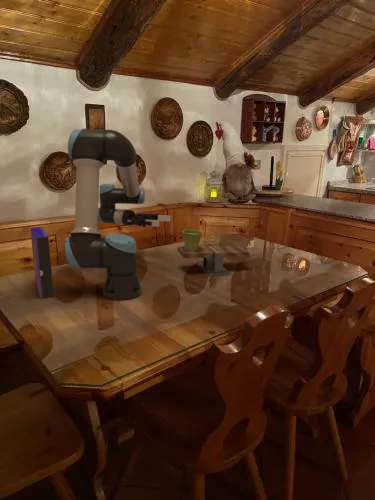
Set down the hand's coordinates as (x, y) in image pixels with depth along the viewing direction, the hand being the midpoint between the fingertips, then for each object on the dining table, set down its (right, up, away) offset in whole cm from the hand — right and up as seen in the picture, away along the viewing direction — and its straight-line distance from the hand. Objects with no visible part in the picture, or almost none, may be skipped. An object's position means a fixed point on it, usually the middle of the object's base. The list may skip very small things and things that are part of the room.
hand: (164, 221), depth 170 cm
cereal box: (-47, -30, -26) cm, 61 cm away
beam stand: (+23, -23, +3) cm, 32 cm away
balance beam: (+23, -15, 0) cm, 27 cm away
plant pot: (+12, -14, -3) cm, 19 cm away
